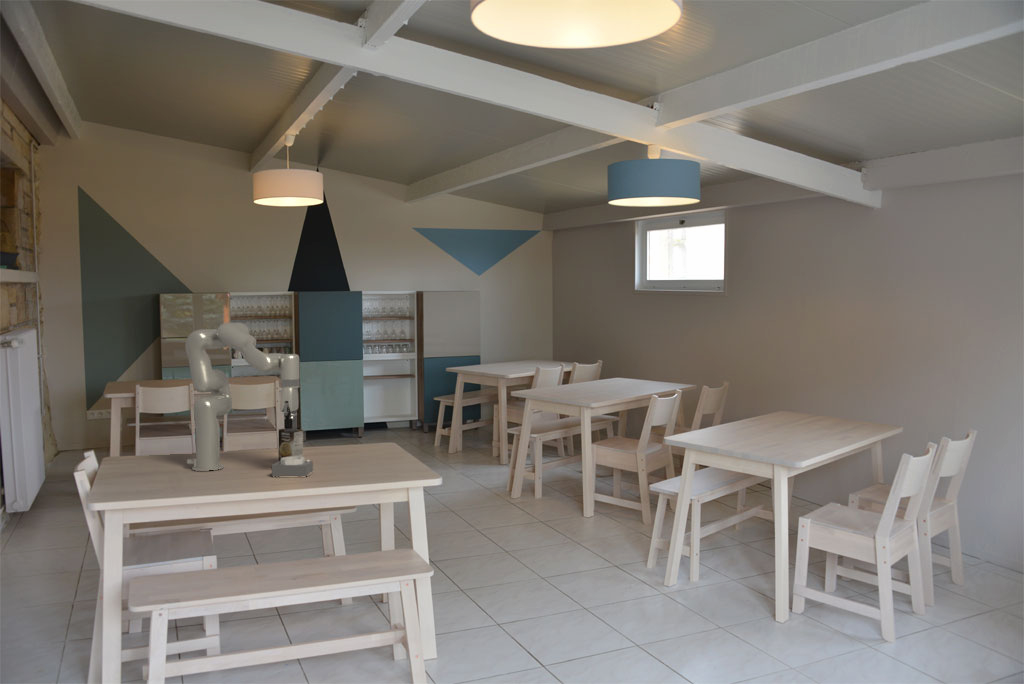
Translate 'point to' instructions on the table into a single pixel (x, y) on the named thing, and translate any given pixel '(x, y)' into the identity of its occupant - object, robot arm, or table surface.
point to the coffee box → (290, 443)
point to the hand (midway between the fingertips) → (290, 427)
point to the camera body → (292, 466)
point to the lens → (294, 421)
